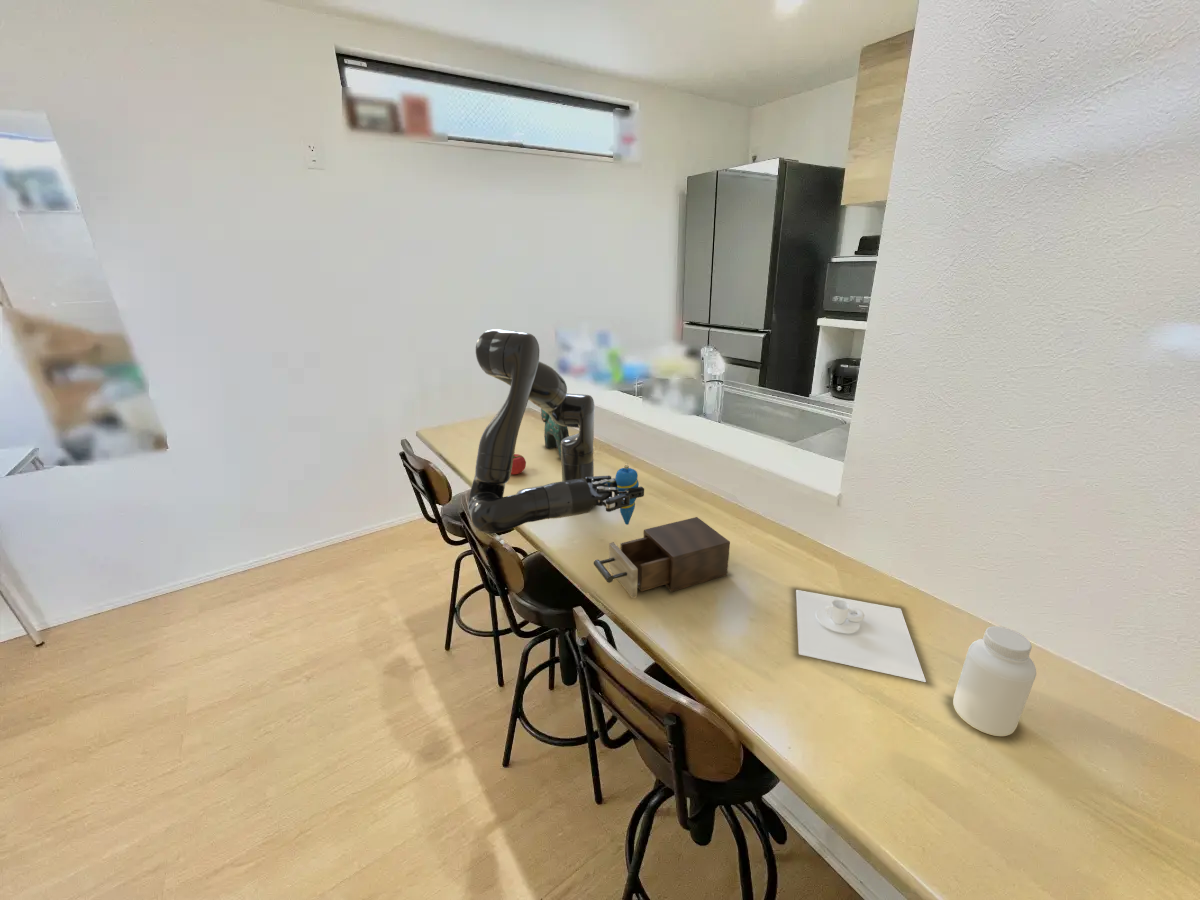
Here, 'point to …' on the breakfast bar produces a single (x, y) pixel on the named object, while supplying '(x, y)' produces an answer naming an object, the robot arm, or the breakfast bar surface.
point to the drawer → (636, 565)
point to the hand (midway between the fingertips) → (637, 486)
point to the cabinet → (691, 551)
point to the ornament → (625, 481)
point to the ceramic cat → (553, 432)
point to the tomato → (518, 464)
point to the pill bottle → (995, 681)
